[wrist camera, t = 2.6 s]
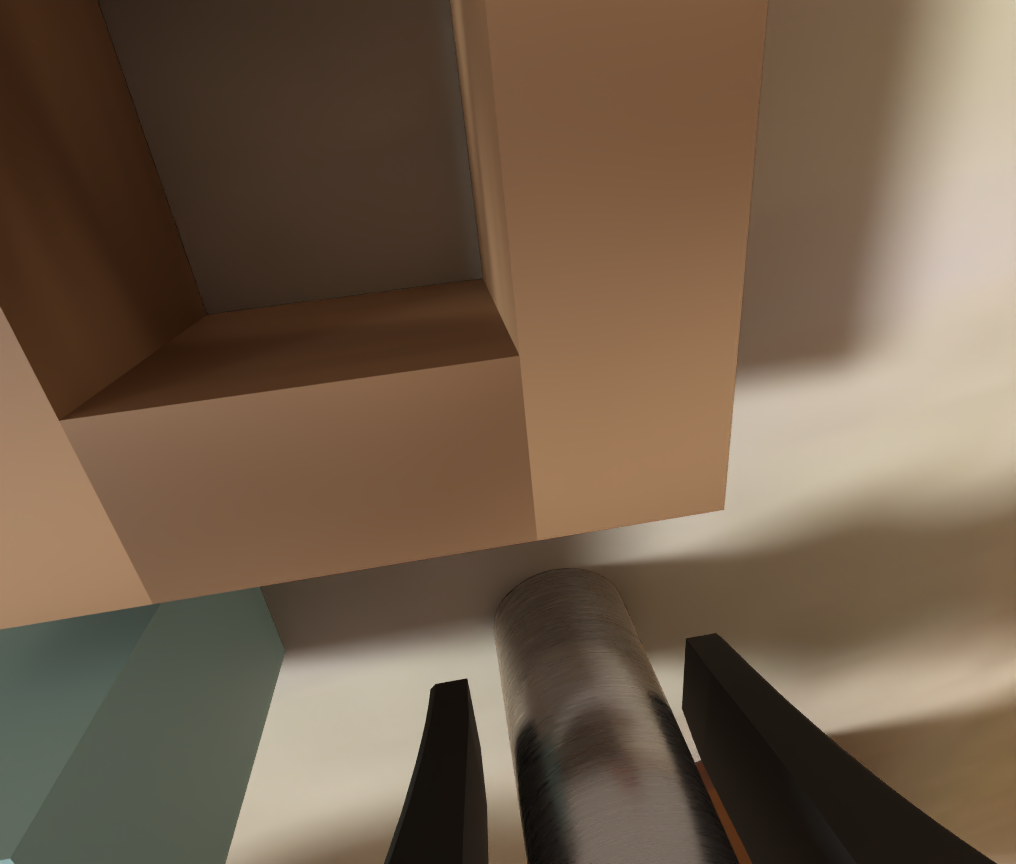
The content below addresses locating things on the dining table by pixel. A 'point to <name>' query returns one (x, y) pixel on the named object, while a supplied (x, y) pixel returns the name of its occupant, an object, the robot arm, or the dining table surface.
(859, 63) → the dining table surface
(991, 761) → the dining table surface
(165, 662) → the block
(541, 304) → the bore block
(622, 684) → the cylinder
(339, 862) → the dining table surface
